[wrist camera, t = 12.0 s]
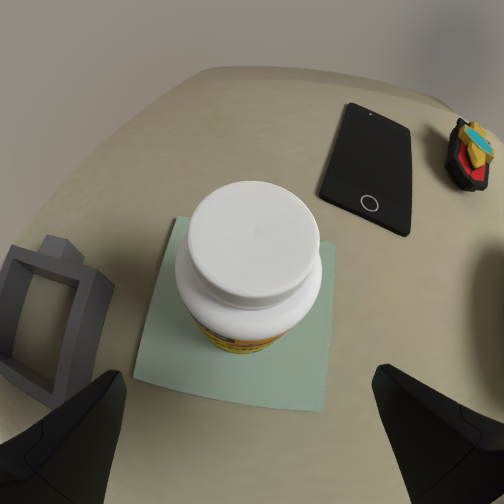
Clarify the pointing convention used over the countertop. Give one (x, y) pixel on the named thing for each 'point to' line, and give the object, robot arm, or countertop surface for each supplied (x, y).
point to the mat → (229, 364)
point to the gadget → (469, 156)
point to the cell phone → (372, 170)
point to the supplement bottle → (249, 265)
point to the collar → (78, 326)
